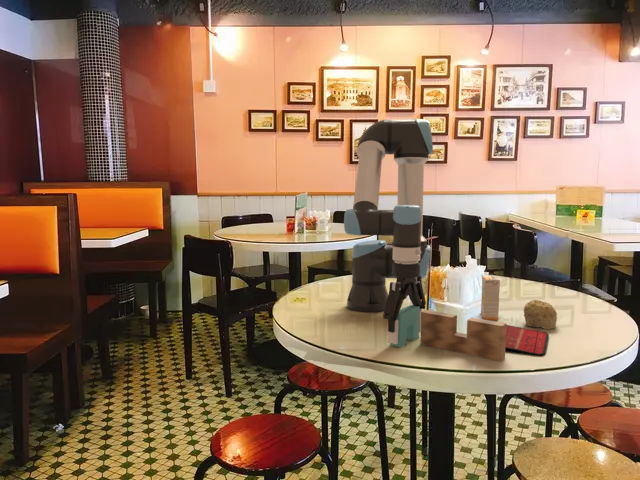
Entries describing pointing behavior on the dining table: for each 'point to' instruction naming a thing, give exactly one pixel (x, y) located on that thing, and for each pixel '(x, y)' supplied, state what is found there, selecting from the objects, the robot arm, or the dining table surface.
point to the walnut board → (464, 335)
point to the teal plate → (407, 324)
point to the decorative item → (540, 314)
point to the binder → (525, 341)
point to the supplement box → (490, 297)
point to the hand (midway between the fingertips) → (405, 337)
